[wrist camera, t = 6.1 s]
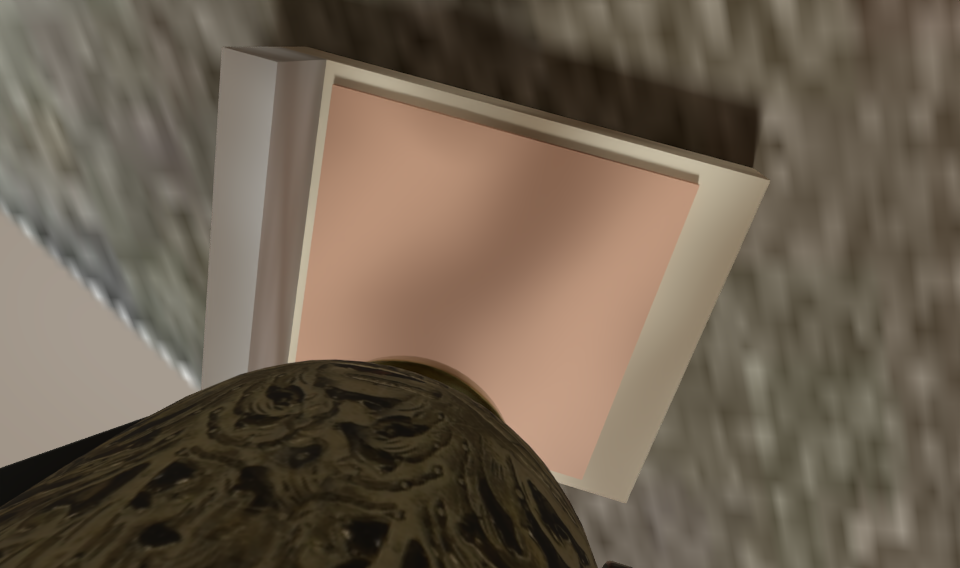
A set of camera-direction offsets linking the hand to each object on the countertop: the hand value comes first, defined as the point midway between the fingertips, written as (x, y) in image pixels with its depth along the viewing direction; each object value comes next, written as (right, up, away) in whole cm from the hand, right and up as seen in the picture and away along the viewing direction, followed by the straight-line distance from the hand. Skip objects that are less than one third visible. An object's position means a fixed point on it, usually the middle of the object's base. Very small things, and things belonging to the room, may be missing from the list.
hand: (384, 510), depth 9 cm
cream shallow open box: (+1, +3, +9) cm, 9 cm away
